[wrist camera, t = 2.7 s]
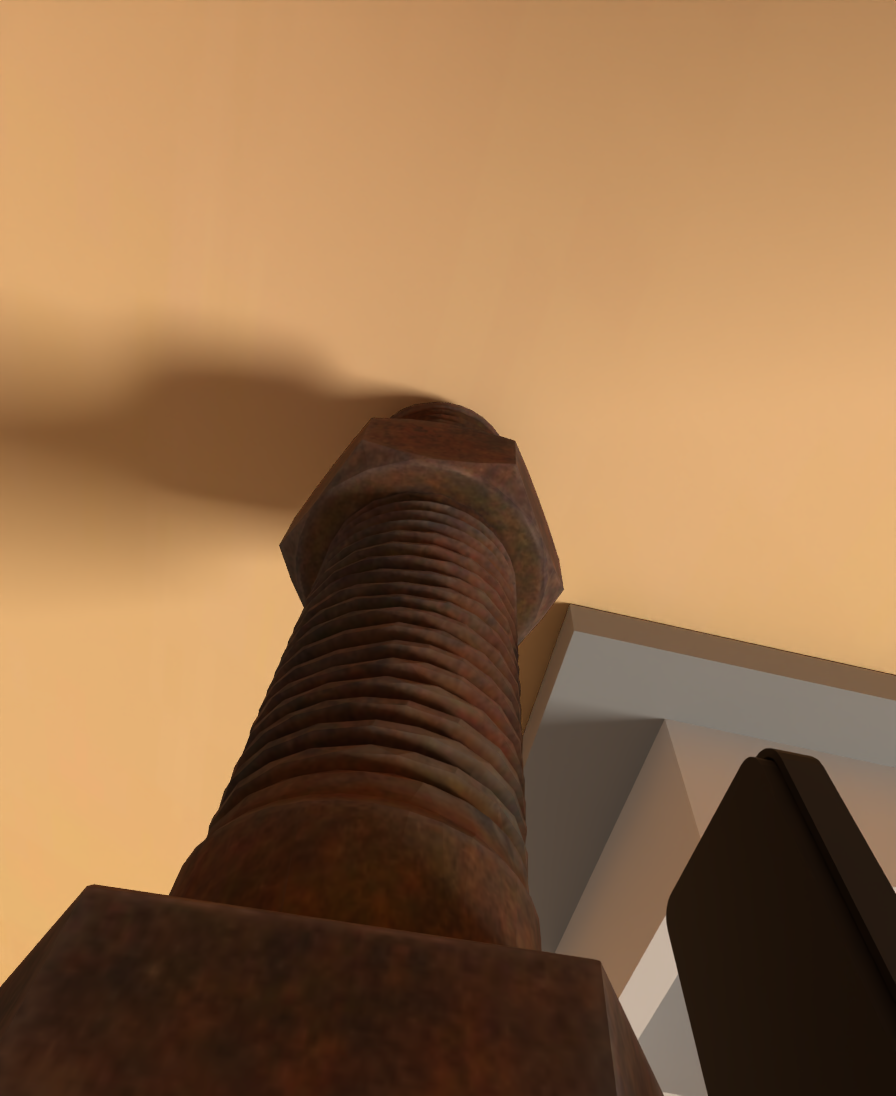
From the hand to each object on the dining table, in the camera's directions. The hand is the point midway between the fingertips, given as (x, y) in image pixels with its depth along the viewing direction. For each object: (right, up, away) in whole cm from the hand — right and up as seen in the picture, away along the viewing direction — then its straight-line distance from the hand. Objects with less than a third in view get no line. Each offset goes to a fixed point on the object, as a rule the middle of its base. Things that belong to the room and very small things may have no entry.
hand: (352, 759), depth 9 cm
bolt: (+1, +5, +8) cm, 10 cm away
